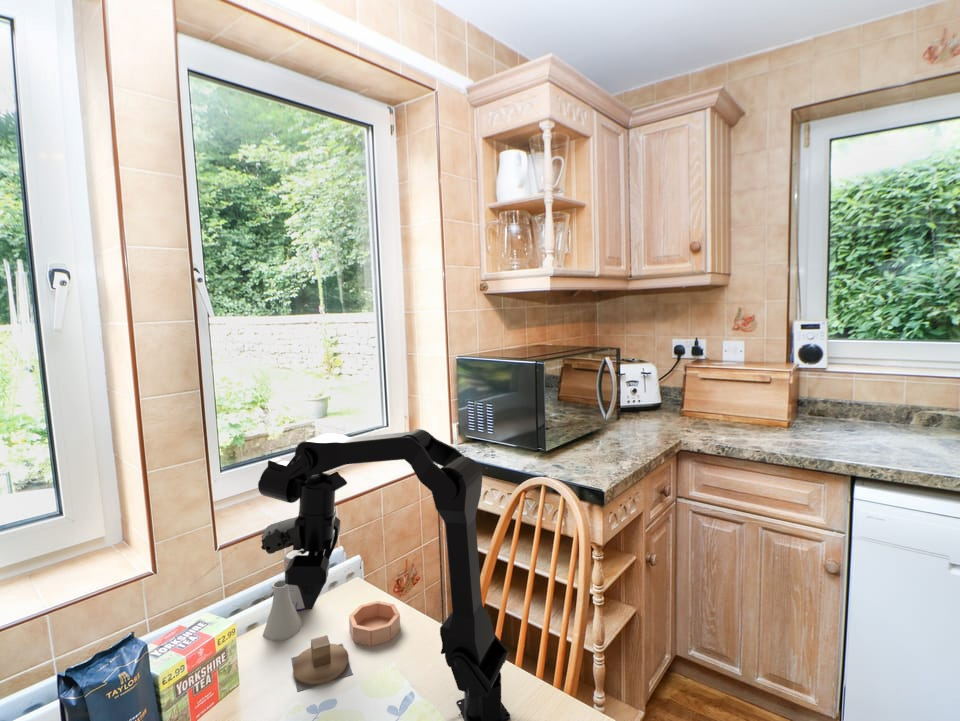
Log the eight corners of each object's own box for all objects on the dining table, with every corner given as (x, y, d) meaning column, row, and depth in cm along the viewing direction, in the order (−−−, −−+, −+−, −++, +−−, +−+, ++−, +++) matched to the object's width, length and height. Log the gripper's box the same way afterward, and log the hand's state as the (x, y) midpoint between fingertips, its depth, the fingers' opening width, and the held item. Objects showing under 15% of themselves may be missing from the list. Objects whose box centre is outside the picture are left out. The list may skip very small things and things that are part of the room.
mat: (353, 677, 89) (352, 674, 89) (297, 695, 85) (297, 691, 85) (342, 646, 97) (342, 643, 97) (291, 661, 93) (291, 657, 93)
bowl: (404, 639, 99) (404, 621, 99) (356, 653, 95) (356, 635, 95) (391, 613, 107) (390, 597, 107) (346, 625, 103) (346, 608, 103)
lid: (353, 674, 89) (352, 650, 88) (296, 692, 85) (295, 666, 84) (342, 643, 97) (342, 620, 97) (290, 657, 93) (289, 634, 93)
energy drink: (319, 605, 110) (316, 551, 109) (298, 618, 106) (295, 561, 104) (302, 597, 113) (299, 544, 112) (280, 610, 109) (278, 555, 107)
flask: (289, 646, 97) (287, 595, 96) (254, 641, 99) (252, 591, 98) (309, 623, 104) (307, 575, 103) (276, 618, 106) (274, 572, 105)
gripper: (280, 485, 97) (278, 563, 99) (251, 534, 79) (249, 628, 81) (342, 487, 99) (338, 564, 101) (327, 535, 80) (323, 627, 83)
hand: (313, 592), depth 91 cm, fingers open, 9 cm apart
